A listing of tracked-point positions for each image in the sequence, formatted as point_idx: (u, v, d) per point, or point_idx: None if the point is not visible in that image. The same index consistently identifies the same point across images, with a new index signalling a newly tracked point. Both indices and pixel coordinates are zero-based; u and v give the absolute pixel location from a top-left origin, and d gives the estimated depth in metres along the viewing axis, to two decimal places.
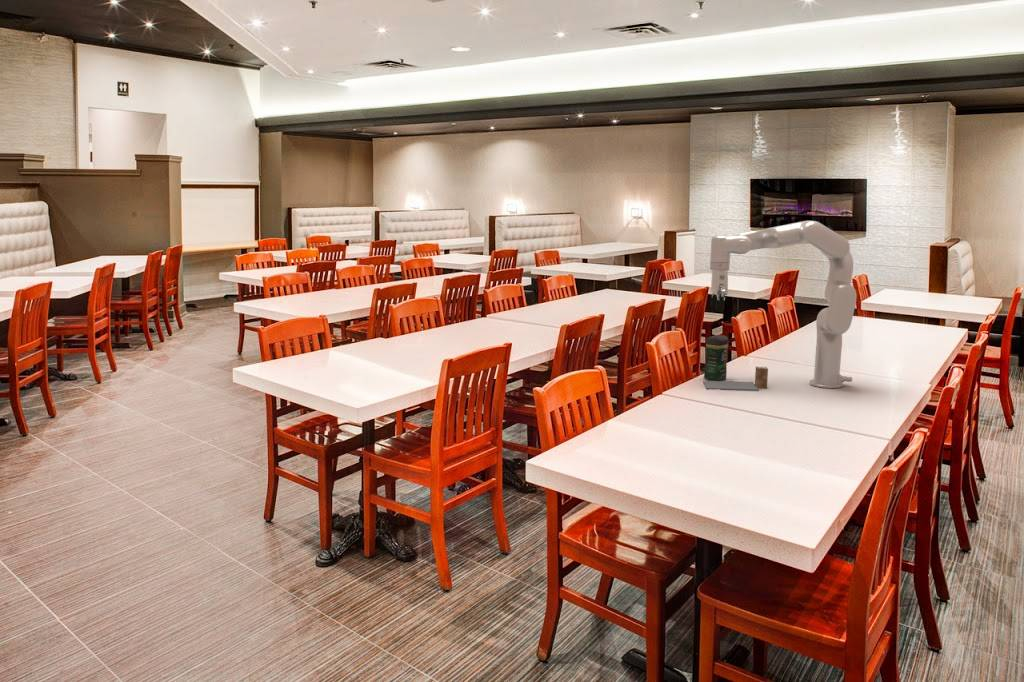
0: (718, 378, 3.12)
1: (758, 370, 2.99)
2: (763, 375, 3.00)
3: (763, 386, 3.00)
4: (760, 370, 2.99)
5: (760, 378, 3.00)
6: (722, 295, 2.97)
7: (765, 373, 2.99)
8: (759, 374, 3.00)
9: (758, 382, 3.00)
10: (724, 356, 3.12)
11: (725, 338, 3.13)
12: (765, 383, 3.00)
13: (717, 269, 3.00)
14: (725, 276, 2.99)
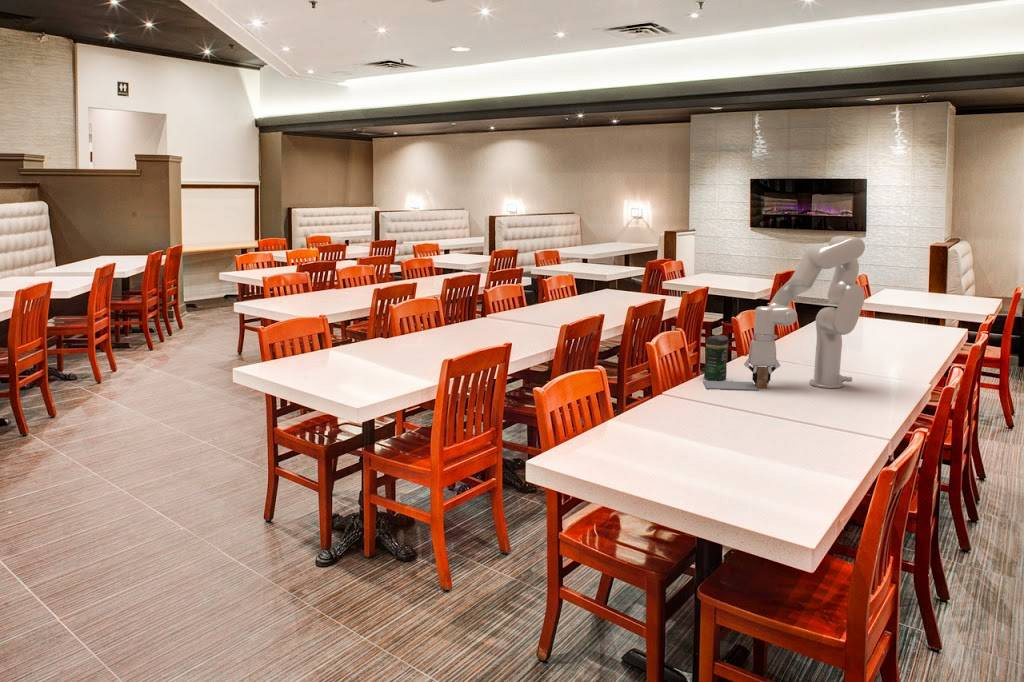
0: (718, 378, 3.12)
1: (758, 370, 2.99)
2: (763, 375, 2.99)
3: (763, 386, 3.00)
4: (760, 370, 2.99)
5: (760, 378, 3.00)
6: None
7: (765, 373, 2.99)
8: (759, 374, 3.00)
9: (758, 382, 3.00)
10: (724, 356, 3.12)
11: (725, 338, 3.13)
12: (765, 383, 3.00)
13: (773, 340, 2.97)
14: None
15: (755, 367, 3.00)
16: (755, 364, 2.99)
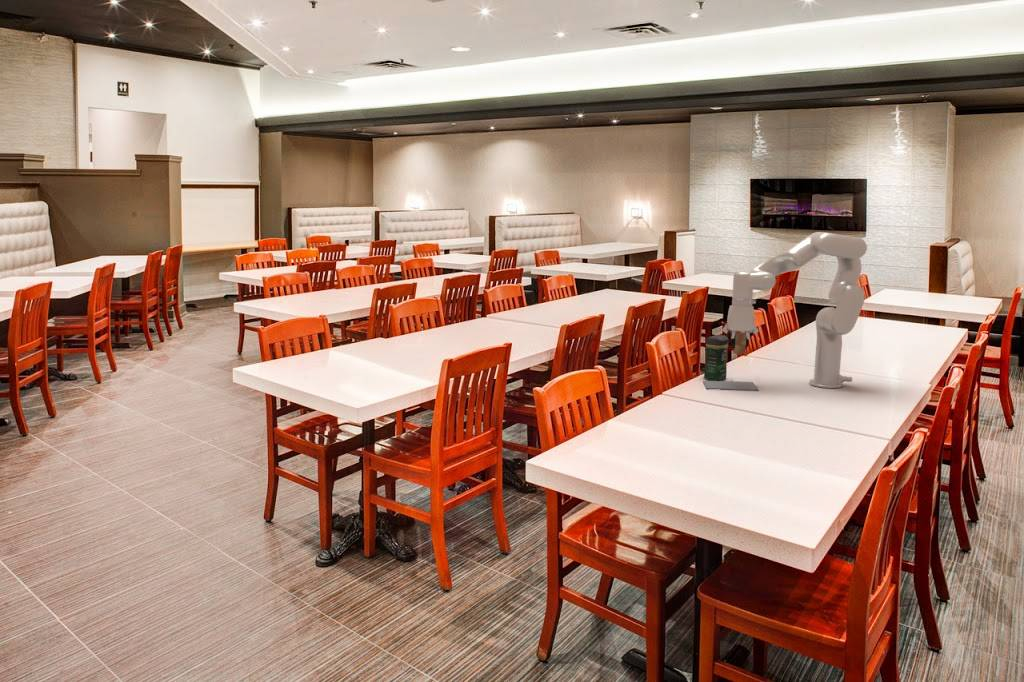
0: (718, 378, 3.12)
1: (736, 335, 2.98)
2: (742, 341, 2.98)
3: (741, 351, 2.99)
4: (738, 335, 2.98)
5: (738, 343, 2.98)
6: None
7: (744, 338, 2.98)
8: (737, 339, 2.98)
9: (736, 347, 2.99)
10: (724, 356, 3.12)
11: (725, 338, 3.13)
12: (743, 348, 2.99)
13: (751, 305, 2.96)
14: None
15: (733, 332, 2.99)
16: (733, 329, 2.98)
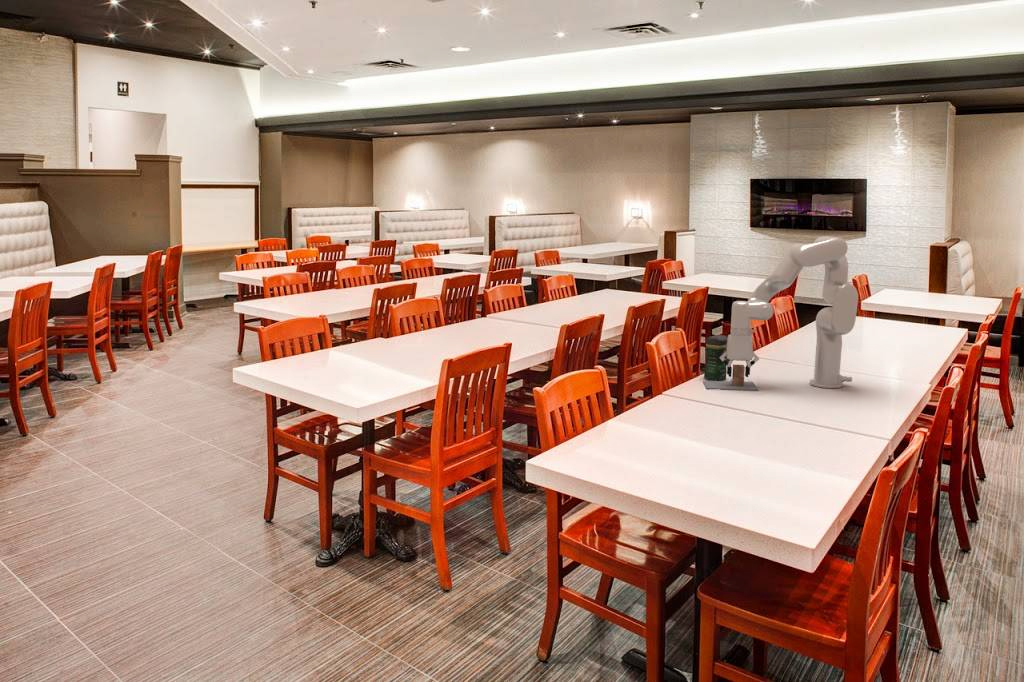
0: (718, 378, 3.12)
1: (735, 368, 3.00)
2: (740, 373, 3.00)
3: (740, 384, 3.01)
4: (736, 368, 3.00)
5: (737, 376, 3.01)
6: None
7: (742, 371, 3.00)
8: (735, 372, 3.01)
9: (735, 380, 3.01)
10: None
11: (725, 338, 3.13)
12: (742, 381, 3.01)
13: (749, 335, 2.98)
14: None
15: (730, 361, 3.01)
16: (732, 358, 3.00)
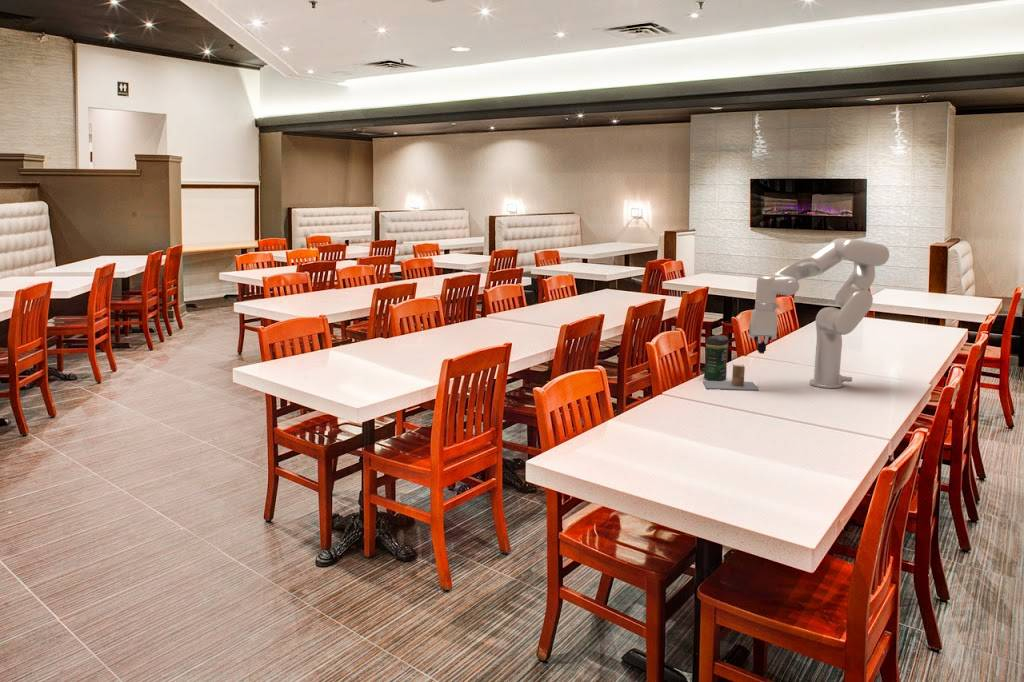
0: (718, 378, 3.12)
1: (735, 368, 3.00)
2: (740, 373, 3.00)
3: (740, 384, 3.01)
4: (736, 368, 3.00)
5: (737, 376, 3.01)
6: None
7: (742, 371, 3.00)
8: (735, 372, 3.01)
9: (735, 380, 3.01)
10: (724, 356, 3.12)
11: (725, 338, 3.13)
12: (742, 381, 3.01)
13: (774, 310, 2.95)
14: None
15: (759, 337, 2.98)
16: (756, 334, 2.97)
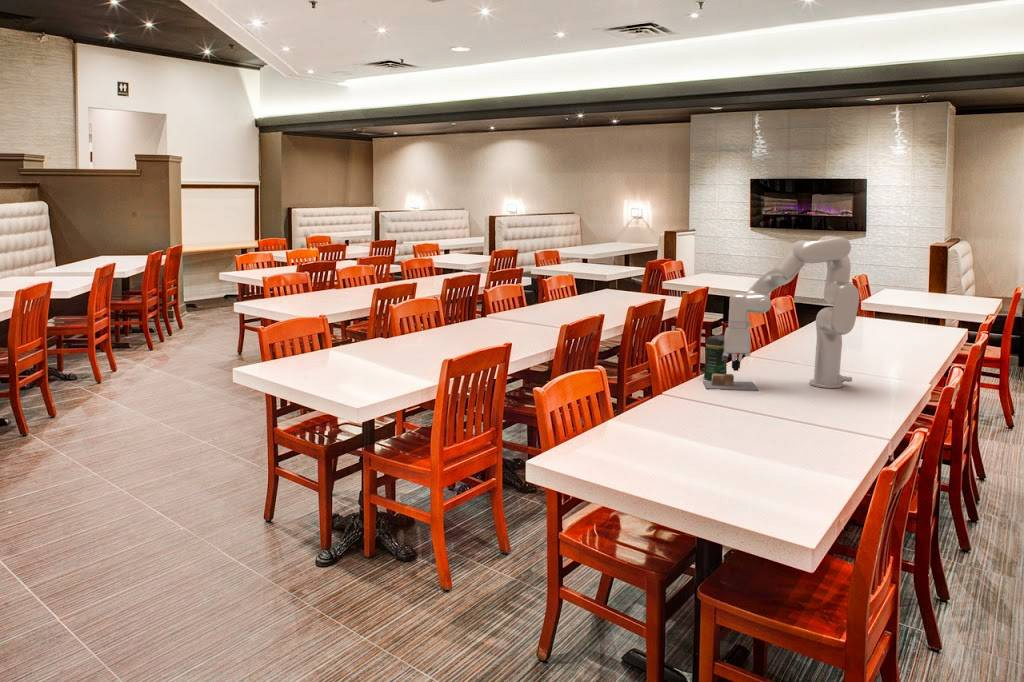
0: None
1: (714, 384, 3.03)
2: (720, 379, 3.02)
3: (731, 379, 3.01)
4: (714, 383, 3.03)
5: (723, 382, 3.02)
6: None
7: (718, 377, 3.02)
8: (718, 383, 3.03)
9: (727, 384, 3.02)
10: (724, 356, 3.12)
11: None
12: (728, 377, 3.01)
13: (747, 328, 2.97)
14: None
15: (733, 355, 3.00)
16: (729, 351, 3.00)
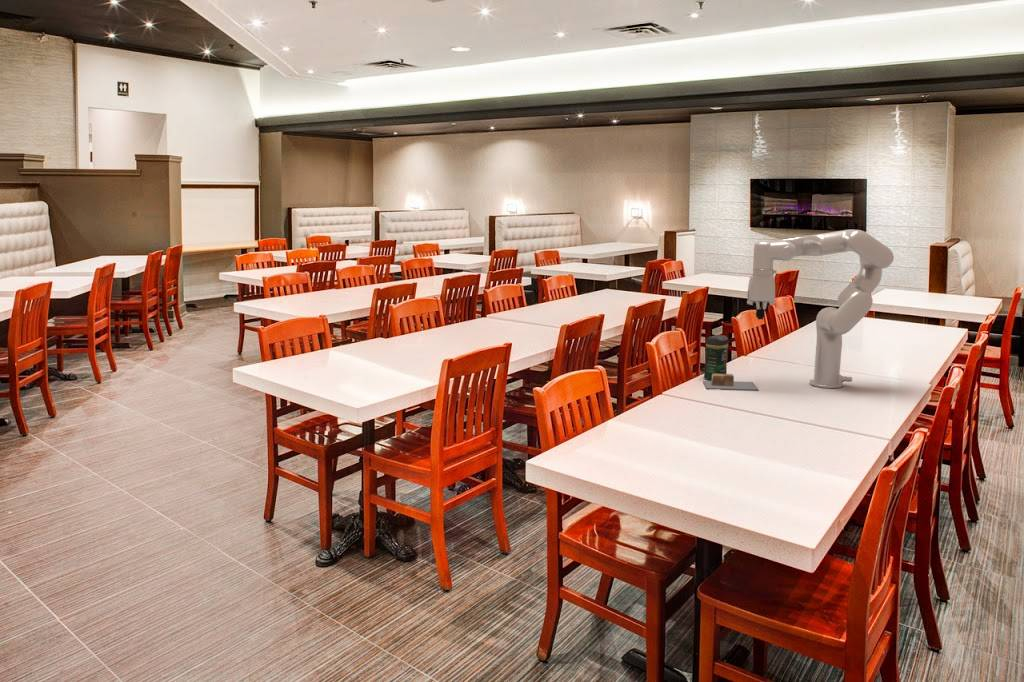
0: None
1: (714, 384, 3.03)
2: (720, 379, 3.02)
3: (731, 379, 3.01)
4: (714, 383, 3.03)
5: (723, 382, 3.02)
6: None
7: (718, 377, 3.02)
8: (718, 383, 3.03)
9: (727, 384, 3.02)
10: (724, 356, 3.12)
11: (725, 338, 3.13)
12: (728, 377, 3.01)
13: (772, 275, 2.97)
14: None
15: (757, 303, 2.99)
16: (754, 300, 2.99)
